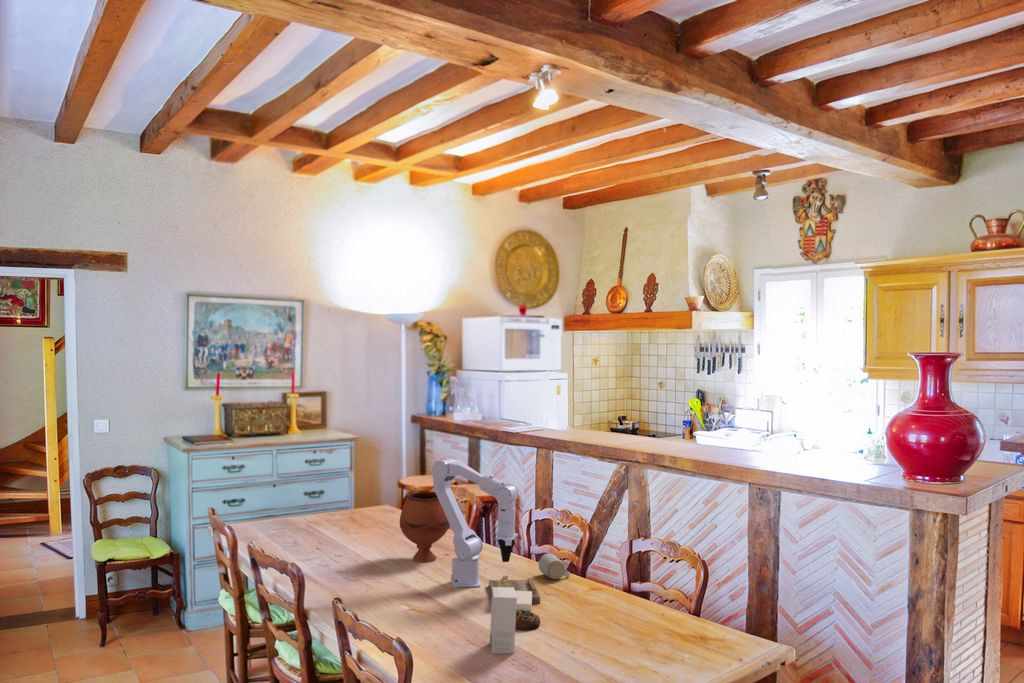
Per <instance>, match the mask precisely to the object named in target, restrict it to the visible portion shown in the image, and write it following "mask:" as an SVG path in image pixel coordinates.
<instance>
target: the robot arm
mask: <svg viewBox="0 0 1024 683" xmlns="http://www.w3.org/2000/svg"><path fill="white" fill-rule="evenodd" d="M430 469H431V470H430V474H431V476H432V482H433V484H432V485H433V491H434V492H435V493H436V495H437V497H438V499H439V501H440V504H441V506H442V508H443V510H444V512H445V515H446V517H447V519H448V521H449V523H450V525H449V527H450V528H451V531H452V533H453V535H454V536H453V540H452V543H453V544H452V545H453V547H454V554H455V555H456V557H454V558H452V562H451V574H450V580H451V585H452V586H451V587H453V588H469V587H470V588H476V587H477V588H480V587H481V583H480V578H479V574H480V573H479V571H480V570H479V568H480V553H481V552H482V550H483V547H484V546H483V544H484V543H483V541H482V539H481V537H479V536H478V535H477V533H476V532H475V531H474V530H473V529H472V528H470V527H469V525H468V523H467V521H466V519H465V516H464V515H463V511H462V510H461V507H460V506H459V503H458V502H457V499H456V497H455V495H454V493H453V490H452V488H451V486H452V483H453V480H455V478H456V477H457V476H460V477H462V478H464V479H467V480H468V481H470V482H472V483H475V484H477V485H479V486H478V487H479V489H480V490H481V491H483V492H484V493H487V494H488V495H489V496H492V497H494V498H495V500H496V501H497V503H498V504H497V506H498V514H497V515H498V516H497V517H498V518H497V533H496V535H497V536H496V537H497V538H499V539H497V543H498V546H499V548H500V549H499V550H500V555H501V560H502V563H509V562H510V558H511V554H512V550H513V548H514V546H515V544H516V543H515V542H516V541H515V538H518V537H519V533H515V531H516V528H515V527H516V500H517V499H518V497H519V489H518V487H516V485H514V484H512V483H508V484H507V483H506V482H505V481H501V480H499V479H498V478H496V477H495V475H494V474H486V475H483V474H481V473H479V472H478V471H476V470H475V469H473V468H472V467H470V466H468V465H467V464H465V463H464V462H463V461H462V460H459V459H458V458H456V457H448V458H445V459H443V460H440V459H439V460H436V461H434V463H433V465H432V467H431V468H430Z"/></svg>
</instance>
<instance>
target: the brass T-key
mask: <svg viewBox="0 0 1024 683" xmlns="http://www.w3.org/2000/svg"><path fill="white" fill-rule="evenodd" d="M508 580H509V576H508V575H503V576H502V577H501V579H500V582H499V583H498V587H506V585H507V583H508Z"/></svg>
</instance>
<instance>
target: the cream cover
mask: <svg viewBox="0 0 1024 683" xmlns="http://www.w3.org/2000/svg"><path fill="white" fill-rule="evenodd" d="M515 592H516V598H517V604H516V611H520V610H526V611H532V605H533V603H532V591H515Z"/></svg>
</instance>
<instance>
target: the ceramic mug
mask: <svg viewBox="0 0 1024 683" xmlns="http://www.w3.org/2000/svg"><path fill="white" fill-rule="evenodd" d="M538 568H539V571H540V572H541V573H542V574H544V576H546V577H547V578H549V579H552V580H559V579H561V578H562V577H563V576H564V577H566V578H567V577H568V578H570V574H571V572H570V571H569V570H568V569H566V566H565V564H564V563H563V561H562V560H561V559H559V558H558V556H556V555H555V554H553V553H551V552H550V553H548V552H547V553H545V554H543V555H542V556H541V557H540V559H539V561H538Z"/></svg>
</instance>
